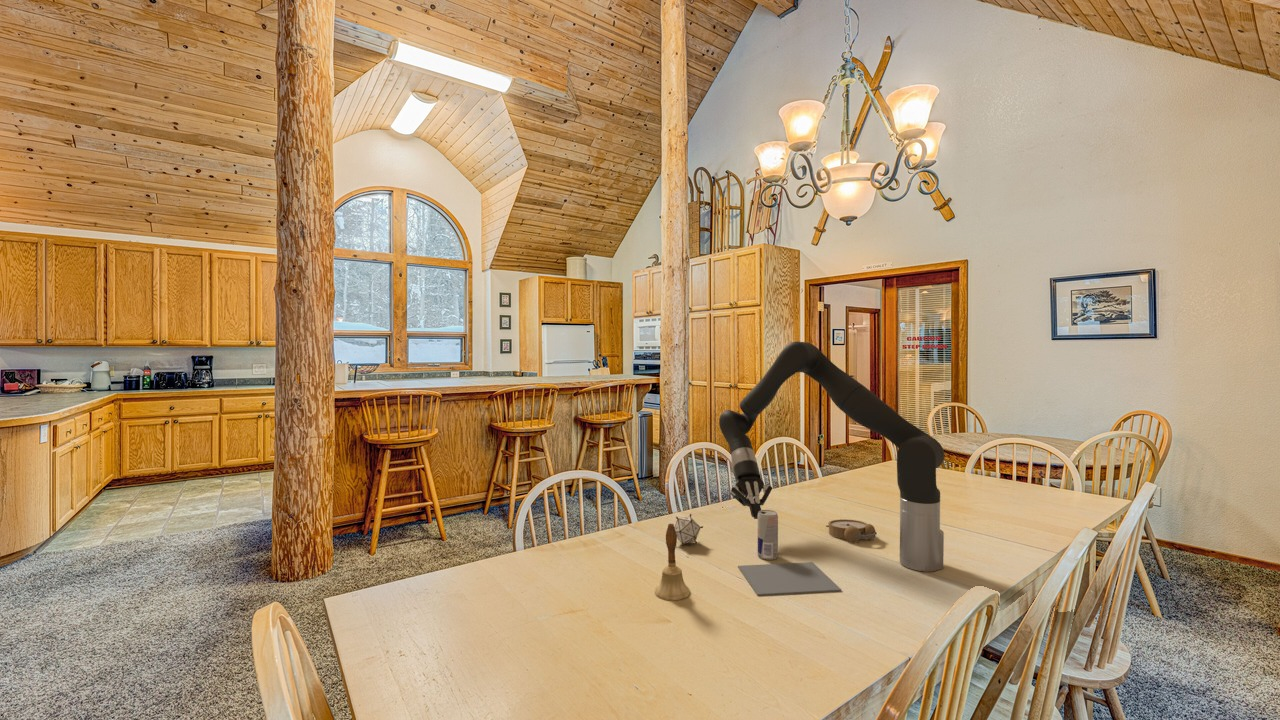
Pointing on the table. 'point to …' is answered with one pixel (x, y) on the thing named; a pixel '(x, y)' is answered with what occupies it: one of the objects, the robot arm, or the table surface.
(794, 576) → the slate mat
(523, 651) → the table surface
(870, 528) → the alarm clock
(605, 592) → the table surface
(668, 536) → the hand bell
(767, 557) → the energy drink
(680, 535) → the game die
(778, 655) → the table surface
